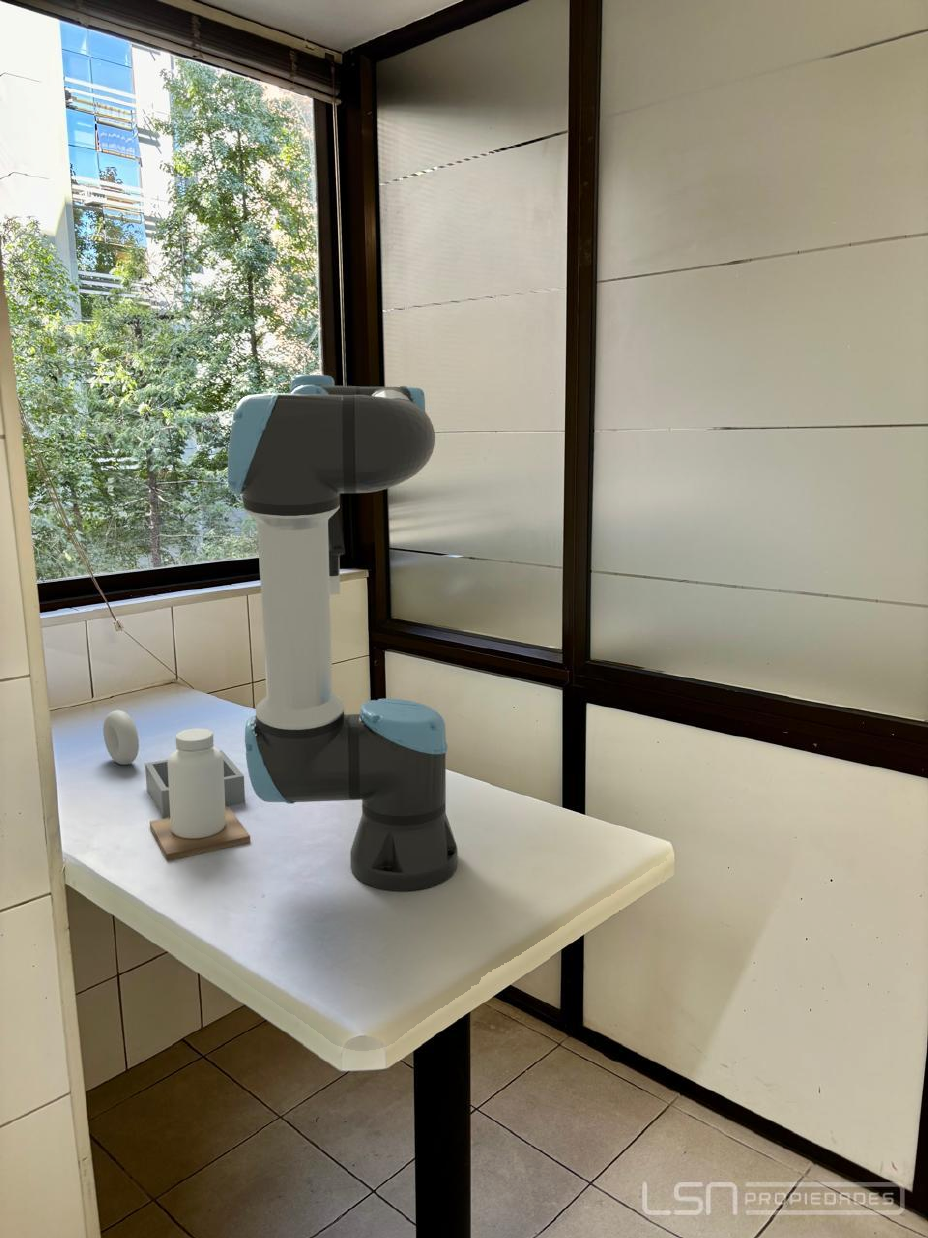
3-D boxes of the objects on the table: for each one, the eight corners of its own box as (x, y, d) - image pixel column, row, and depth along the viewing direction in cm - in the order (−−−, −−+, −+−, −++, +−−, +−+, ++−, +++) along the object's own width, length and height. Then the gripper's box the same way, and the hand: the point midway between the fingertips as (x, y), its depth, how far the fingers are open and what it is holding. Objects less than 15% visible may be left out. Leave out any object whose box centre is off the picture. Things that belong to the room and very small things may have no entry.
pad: (250, 842, 134) (250, 836, 134) (167, 860, 128) (166, 854, 128) (228, 811, 144) (227, 805, 144) (150, 827, 139) (149, 821, 138)
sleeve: (245, 801, 148) (243, 775, 147) (163, 818, 142) (161, 791, 141) (223, 774, 159) (222, 750, 158) (146, 788, 153) (144, 763, 152)
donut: (102, 758, 166) (97, 706, 164) (120, 753, 168) (116, 702, 166) (125, 774, 159) (121, 720, 157) (144, 769, 161) (140, 715, 159)
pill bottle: (218, 841, 132) (212, 744, 129) (163, 840, 133) (157, 743, 129) (232, 817, 140) (228, 725, 137) (181, 816, 140) (175, 724, 137)
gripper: (363, 470, 148) (365, 598, 153) (309, 463, 169) (312, 575, 174) (320, 471, 145) (323, 602, 149) (270, 463, 166) (274, 578, 170)
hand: (317, 587), depth 162 cm, fingers open, 13 cm apart
